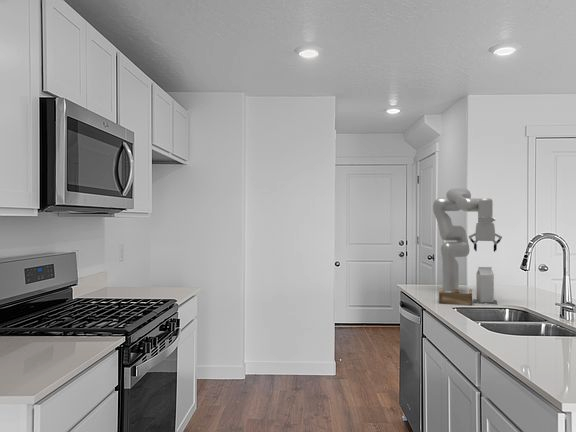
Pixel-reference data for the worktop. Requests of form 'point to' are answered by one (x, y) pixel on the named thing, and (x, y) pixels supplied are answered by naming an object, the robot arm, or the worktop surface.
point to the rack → (455, 298)
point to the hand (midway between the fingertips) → (485, 251)
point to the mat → (485, 302)
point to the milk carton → (485, 284)
